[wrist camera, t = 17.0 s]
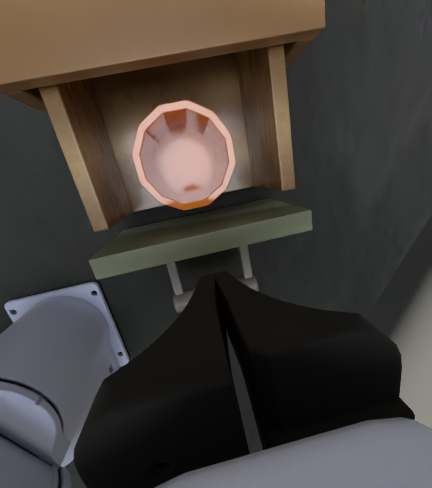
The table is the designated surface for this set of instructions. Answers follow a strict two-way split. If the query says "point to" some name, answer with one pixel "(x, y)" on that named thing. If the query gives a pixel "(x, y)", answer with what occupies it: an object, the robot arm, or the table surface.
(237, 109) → the drawer
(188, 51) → the cabinet
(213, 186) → the orange cup
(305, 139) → the table surface
